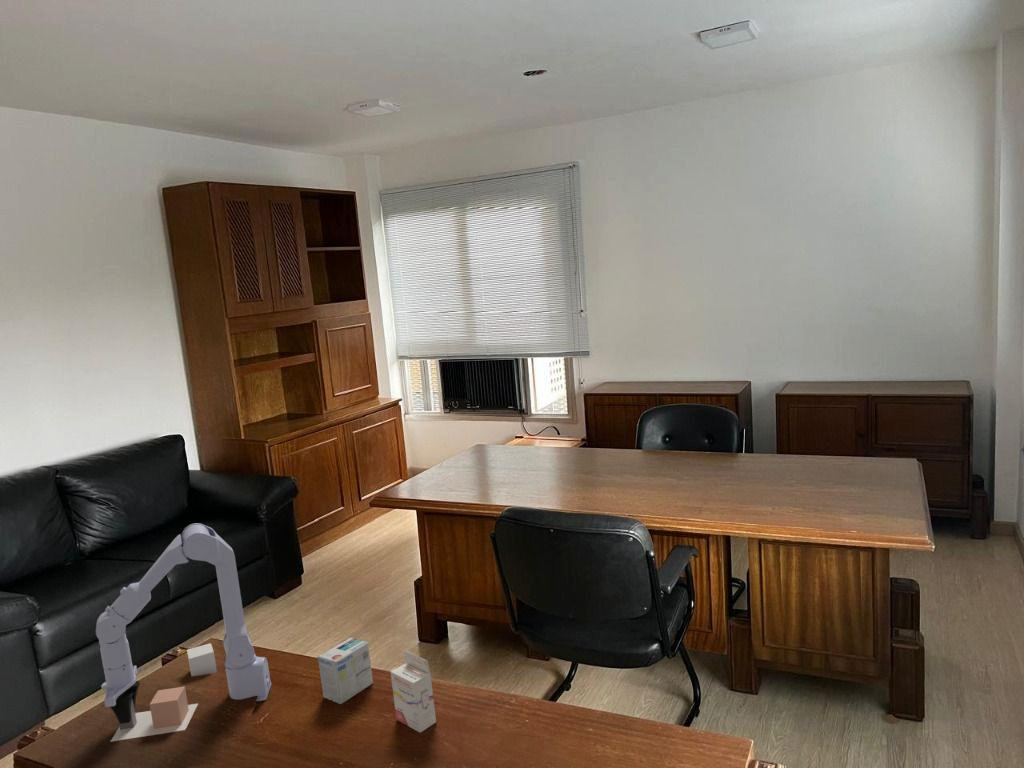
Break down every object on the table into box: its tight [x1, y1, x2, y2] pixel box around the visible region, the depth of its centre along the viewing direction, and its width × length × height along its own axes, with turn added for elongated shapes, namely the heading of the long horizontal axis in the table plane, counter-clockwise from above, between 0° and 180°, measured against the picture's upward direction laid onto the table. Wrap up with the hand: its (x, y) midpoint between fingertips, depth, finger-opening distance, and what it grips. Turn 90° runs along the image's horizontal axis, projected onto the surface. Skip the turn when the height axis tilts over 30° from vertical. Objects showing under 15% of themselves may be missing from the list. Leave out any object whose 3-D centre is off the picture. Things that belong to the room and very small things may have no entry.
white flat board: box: [110, 698, 199, 743], centre depth 178 cm, size 16×11×7 cm
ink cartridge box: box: [390, 650, 437, 733], centre depth 169 cm, size 9×5×15 cm, turn 47°
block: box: [149, 685, 189, 729], centre depth 178 cm, size 6×6×6 cm
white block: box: [186, 643, 218, 677], centre depth 202 cm, size 6×6×6 cm
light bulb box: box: [317, 637, 374, 705], centre depth 185 cm, size 11×7×11 cm, turn 144°
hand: (127, 719), depth 177 cm, fingers closed on white flat board, 2 cm apart
